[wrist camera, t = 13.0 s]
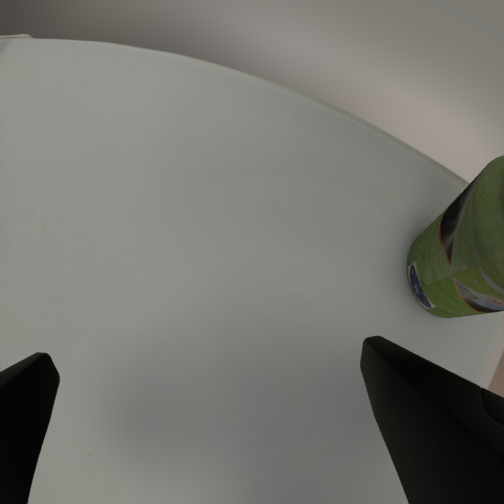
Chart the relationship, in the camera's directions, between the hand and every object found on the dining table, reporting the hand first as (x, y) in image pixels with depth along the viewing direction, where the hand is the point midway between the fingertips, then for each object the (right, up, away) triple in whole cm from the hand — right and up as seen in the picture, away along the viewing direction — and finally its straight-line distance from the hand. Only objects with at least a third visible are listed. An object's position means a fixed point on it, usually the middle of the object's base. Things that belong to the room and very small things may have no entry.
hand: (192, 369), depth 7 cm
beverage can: (+13, +1, +10) cm, 17 cm away
